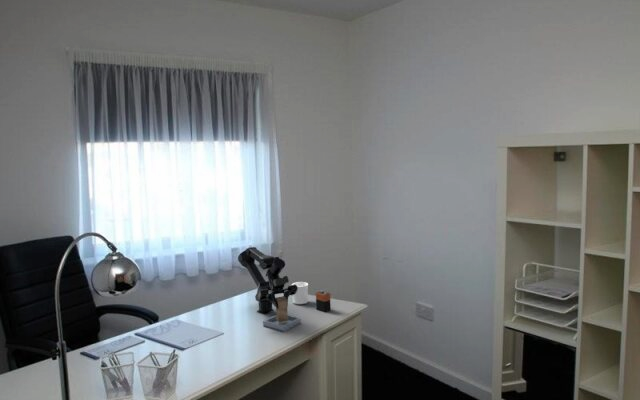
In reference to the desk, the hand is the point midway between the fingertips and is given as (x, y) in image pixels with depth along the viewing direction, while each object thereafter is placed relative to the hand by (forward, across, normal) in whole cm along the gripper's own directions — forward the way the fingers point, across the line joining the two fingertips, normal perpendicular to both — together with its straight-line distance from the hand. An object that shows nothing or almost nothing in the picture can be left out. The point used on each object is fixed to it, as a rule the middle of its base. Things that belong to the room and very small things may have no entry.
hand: (282, 307), depth 222 cm
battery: (-1, +26, +14) cm, 29 cm away
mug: (-13, +19, +26) cm, 34 cm away
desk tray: (+5, 0, +7) cm, 9 cm away
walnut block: (+4, 0, +6) cm, 7 cm away
